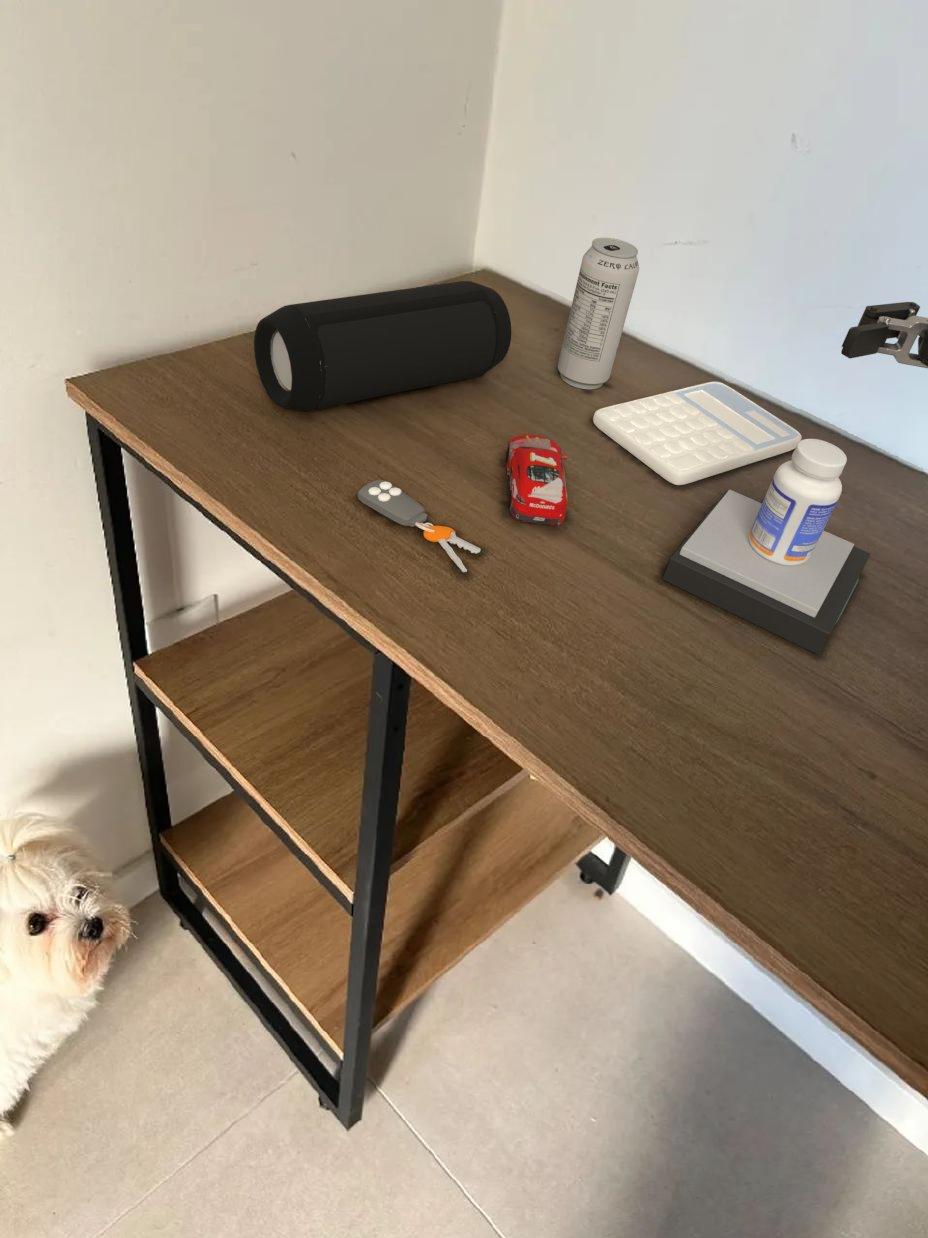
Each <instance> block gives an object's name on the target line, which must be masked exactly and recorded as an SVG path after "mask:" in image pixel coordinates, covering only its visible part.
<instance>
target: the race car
mask: <svg viewBox="0 0 928 1238" xmlns="http://www.w3.org/2000/svg"><path fill="white" fill-rule="evenodd" d="M568 459H569V457H568V456H567V455H565V454H564V455H563V454H562V447H560V446H559V444H558V443H556V442H555V441H554V440H552V439H549V438H547V437H545V436H541V435H538V434H523V435H517V436H515V437H513V438H511V439H510V440H509V441H508V444H507V450H506V457H505V462H506V476H507V494H508V495H507V496H508V506H507V507H508V510H509V512H510V515H512V517H513V518H515V519H516V520H519V521H522V522H523V523H531V524H539V525H549V526H552V527H555V525H556V526H560V525H562V523H563V522H564V521H565V518H566V513H567V508H568V500H569V497H568V490H567V483H566V474H565V468H564V467H565V466H564V460H568Z"/></svg>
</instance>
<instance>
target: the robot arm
mask: <svg viewBox="0 0 928 1238" xmlns="http://www.w3.org/2000/svg"><path fill="white" fill-rule="evenodd" d="M920 310H921V306H920V305H919V304H918V303H916V302H914V301H904V302H903V301H902V302H892V303H883V304H872V305H866V306H865V308H864V310H863V313H862V315H861V316H860V319H859V322H858V324H857V325H856V326H851V327H849V328H848V331H847V333H846V335H845V338H844V340H843V342H842V345H841V355H842V356H844V357H845V358H848V359H850V360H851V359H855V358H860V357H861V358H862V357H865V356H871V355H874V354H875V355H876V354H881V355H888V356H892V357H893V358H894V359H895V361H896V362H897V363H898V364H901V365H907V366H911V367H918V368H923V369H928V317H927V316H926V317H925V316H919V315H918V313H919V311H920ZM888 339H897V341H896V342H895V343H890V342H887V340H888ZM916 340H917V353H912V352H911V350H912V348H913V346H914V344H915V342H916Z"/></svg>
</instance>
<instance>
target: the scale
mask: <svg viewBox="0 0 928 1238" xmlns="http://www.w3.org/2000/svg"><path fill="white" fill-rule="evenodd" d="M762 503H763V502H759V501H757V500H755V499H753V498H750V497H748V496H746V495H743V494H741V493H740V492H737V491H734V490H732V489H728V490H725V491H724V492H723V493H722V495H721V496H720V498H719V499H718V500H716V502H715V503H714V504H713V506H711V508H710V509H709V511H708V512H707V513H706V514H705V516H704V517H703V518H702V519H701V520H700V521H699V523H698V524H697V525H696V527H694V529H692V531H691V533H689V535H688V536H687V538H686V539H684V541H683V542H682V544H680V546H679V547H678V548H677V550H676V551H675V552H674V553H673V555H672V556H671V557H669V561H668V563H667V566H666V569H665V571H664V573H663V576H662V581H664V582H666V583H668V584H670V585H672V586H674V587H676V588H679V589H680V590H683V591H685V592H686V593H687V592H688V594H691V595H693V596H695V597H697V598H699V599H702V600H703V601H706V602H708V603H710V604H712V605H714V606H716V607H718V608H720V609H722V610H724V611H727V612H728V613H731V614H732V615H735V616H737V617H738V618H741V619H742V620H745V621H747V622H749V623H751V624H753V625H755V626H757V627H760V628H761V629H764V630H766V631H768V632H770V633H772V634H774V635H776V636H778V637H781V638H782V639H784V640H786V641H788V642H791V643H793V644H794V645H797V646H799V647H800V648H803V649H805V650H806V651H808V652H811V653H814V655H815V654H816V655H818V656H819V655H820V653H821V651H822V650H823V649H824V646H825V644H826V643H827V641H828V639H829V637H830V636H831V634H832V632H833V629H834V628H835V625H836V624H837V623H838V621H839V620H840V617H842V614H843V612H844V610H845V609H846V606H847V604H848V602H849V600H850V599H851V596H852V594H853V593H854V590H855V589H856V586H857V585H858V583H859V581H860V576H861V574H862V572H863V570H864V568H865V566H866V565H867V563H868V560H869V559H870V556H871V552H868V551H866V550H863V549H861V548H858V547H857V546H855V543H853V542H851V541H849V540H846V539H844V538H842V537H840V536H837V535H836V534H832V533H831V532H828V531H825V530H823V532H822V534H821V536H820V538H819V540H818V542H817V544H816V546H815V548H814V550H813V552H812V554H811V556H810V557H809V559H808V560H807V561H806V562H804V563H802V564H799V565H782V564H778V563H775V562H772V561H770V560H768V559H766V558H764V557H763V556H761V555H760V554H758V553H757V552H756V551H755V550H754V549H753V548H752V546H751V544H750V541H749V535H750V531H751V529H752V526H753V524H754V522H755V519H756V517H757V515H758V512H759V510H760V508H761V505H762Z"/></svg>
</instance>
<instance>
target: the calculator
mask: <svg viewBox="0 0 928 1238" xmlns="http://www.w3.org/2000/svg"><path fill="white" fill-rule="evenodd" d="M592 422H593V424H594V426H595V427H596V428H597V429H598V430H600V431H601V432H602V433H604V434H605V435H606V436H607V437H609V438H610V439H611V440H613V441H614V442H615V443H617V445H619V446H621V447H622V448H623V449H624V450H626V451H627V452H628V453H630V454H631V455H633V456H634V457H635V458H636V459H638V460H639V461H640V462H641V463H643V464H644V465H646V466H647V467H648V468H649V469H651V470H652V471H653V472H654V473H656V474H657V475H659V477H661V478H663V479H664V480H665V481H667V482H669V483H670V484H672V485H675V486H683V485H688V484H691V483H695V482H697V481H701V480H704V479H706V478H709V477H714V476H716V475H719V474H722V473H725V472H728V471H732V470H734V469H738V468H741V467H744V466H748V465H751V464H753V463H757V462H760V461H763V460H766V459H770V458H773V457H775V456H779V455H782V454H785V453H787V452H790V451H794V450H795V449H796V447H797V445H798V443H799V442H800V441H802V438H803V437H802V435H801V433H800V432H799V431H798V430H797V429H795V428H794V427H793V426H791V425H789V423H786V422H785V421H784V420H782V419H780V418H779V417H777V416H775V415H774V414H772V413H771V412H769V411H768V410H766V409H765V408H763V407H762V406H760V405H758V404H757V403H756V402H754V401H752V400H751V399H749V398H748V397H746V396H745V395H743V394H741V393H740V392H738V391H737V390H735V389H733V388H732V387H730V386H729V385H727V384H726V383H723V382H722V381H721V382H720V381H709V382H704V383H700V384H699V383H698V384H695V385H692V386H691V385H690V386H688V387H684V388H680V389H676V390H671V391H667V392H662V393H658V394H655V395H651V396H646V397H642V398H638V399H634V400H630V401H626V402H621V403H618V404H613V405H609V406H606V407H601V408H599V409H597V410H596V411H595V412H594V414H593V418H592Z"/></svg>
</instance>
